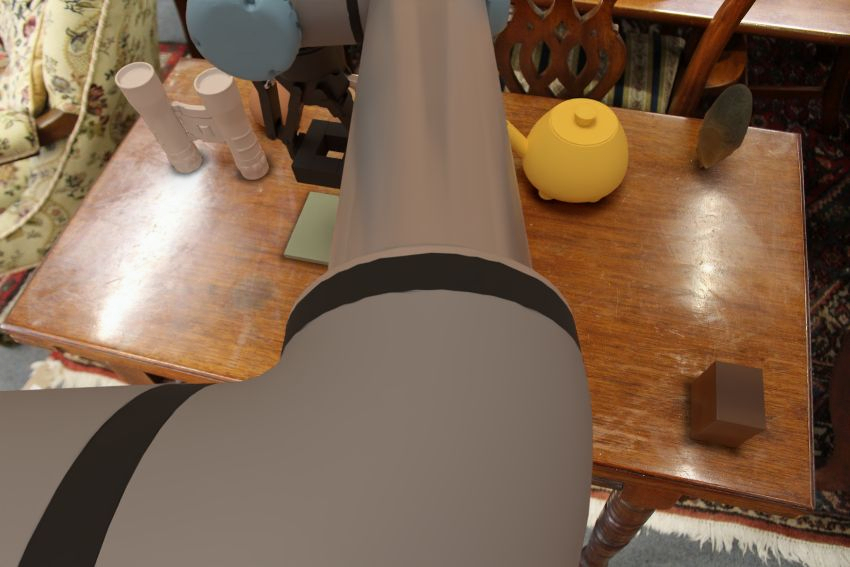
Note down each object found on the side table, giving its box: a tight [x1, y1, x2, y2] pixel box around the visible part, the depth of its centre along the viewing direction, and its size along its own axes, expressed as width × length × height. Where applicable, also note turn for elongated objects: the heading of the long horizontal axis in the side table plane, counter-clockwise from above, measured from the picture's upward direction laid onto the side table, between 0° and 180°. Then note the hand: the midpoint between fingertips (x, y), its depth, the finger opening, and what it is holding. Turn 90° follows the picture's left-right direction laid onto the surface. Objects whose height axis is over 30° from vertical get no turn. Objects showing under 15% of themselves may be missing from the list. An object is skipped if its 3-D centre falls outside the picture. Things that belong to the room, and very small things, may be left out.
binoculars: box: [114, 61, 270, 181], centre depth 85 cm, size 17×5×18 cm, turn 81°
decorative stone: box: [695, 83, 753, 170], centre depth 80 cm, size 10×6×15 cm, turn 162°
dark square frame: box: [290, 118, 349, 190], centre depth 69 cm, size 8×8×3 cm
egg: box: [248, 81, 290, 128], centre depth 93 cm, size 7×7×8 cm
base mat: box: [283, 191, 339, 266], centre depth 83 cm, size 12×18×4 cm, turn 77°
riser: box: [689, 360, 767, 448], centre depth 64 cm, size 7×5×8 cm
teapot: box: [506, 97, 630, 203], centre depth 82 cm, size 20×16×14 cm
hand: (341, 180), depth 73 cm, fingers closed on dark square frame, 8 cm apart
